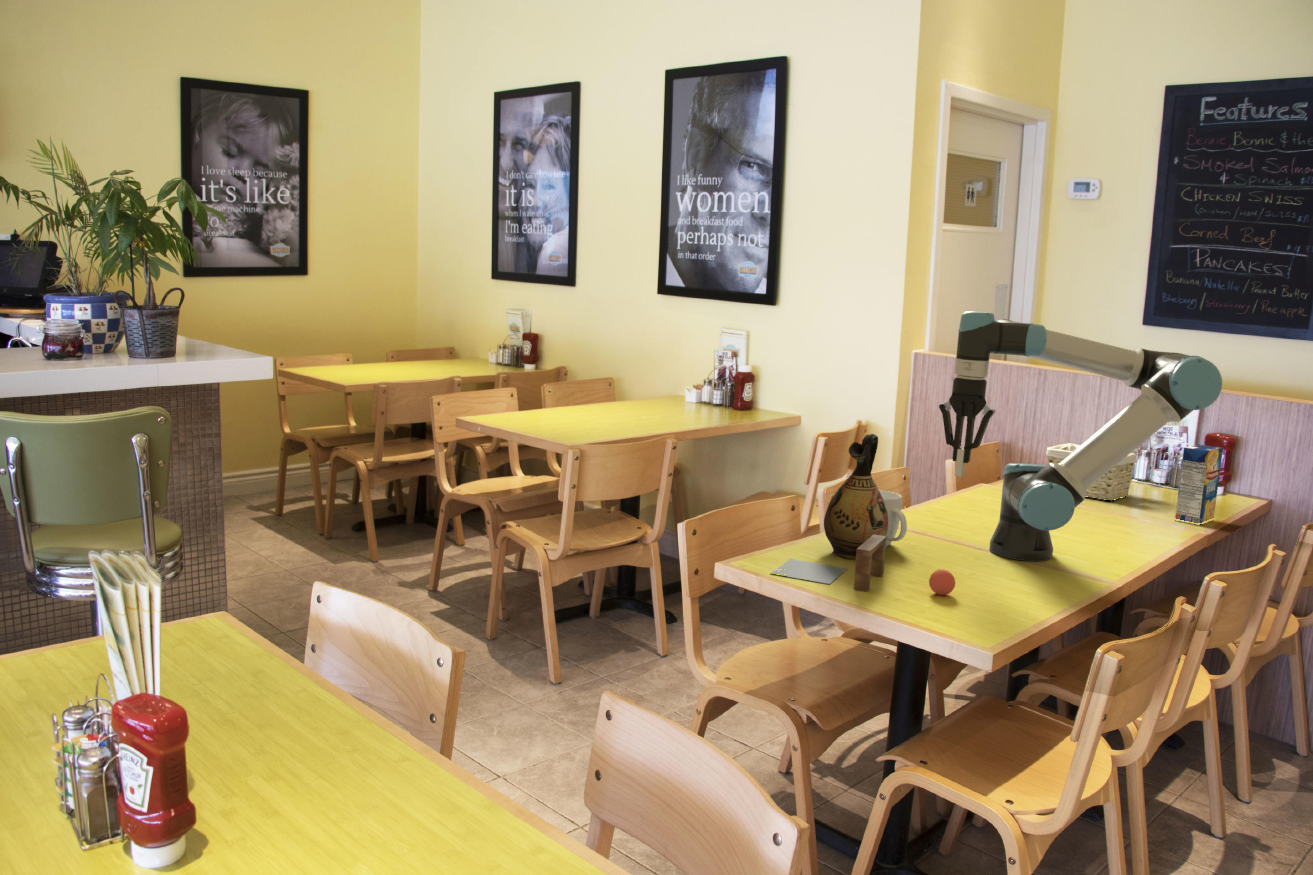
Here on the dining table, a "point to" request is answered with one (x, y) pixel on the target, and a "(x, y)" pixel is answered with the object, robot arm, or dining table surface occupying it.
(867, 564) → the bridge
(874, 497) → the ceramic jug
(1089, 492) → the storage basket
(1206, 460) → the blue cardboard box
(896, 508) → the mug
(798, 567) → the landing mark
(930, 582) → the ball
